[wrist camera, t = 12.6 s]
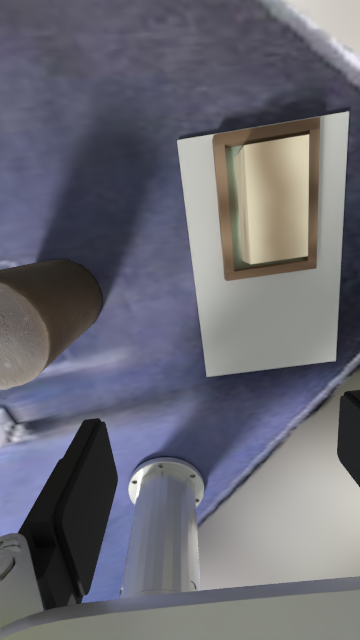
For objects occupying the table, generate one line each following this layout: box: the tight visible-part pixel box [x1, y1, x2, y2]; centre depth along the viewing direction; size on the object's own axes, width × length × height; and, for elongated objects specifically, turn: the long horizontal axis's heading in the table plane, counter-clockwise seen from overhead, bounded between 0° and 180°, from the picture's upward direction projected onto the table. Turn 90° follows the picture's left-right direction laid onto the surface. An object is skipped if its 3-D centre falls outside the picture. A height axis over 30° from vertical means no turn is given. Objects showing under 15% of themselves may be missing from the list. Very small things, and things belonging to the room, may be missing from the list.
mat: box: [177, 111, 349, 377], centre depth 31 cm, size 29×18×1 cm, turn 8°
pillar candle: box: [0, 259, 102, 390], centre depth 26 cm, size 10×10×15 cm
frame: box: [212, 117, 320, 281], centre depth 29 cm, size 15×11×2 cm
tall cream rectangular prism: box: [235, 134, 309, 264], centre depth 27 cm, size 6×11×4 cm, turn 8°
